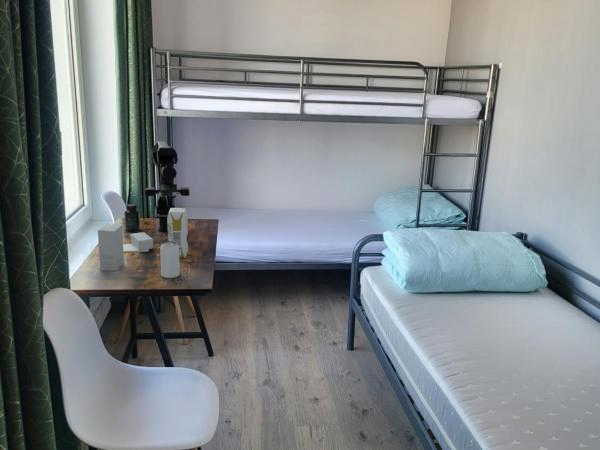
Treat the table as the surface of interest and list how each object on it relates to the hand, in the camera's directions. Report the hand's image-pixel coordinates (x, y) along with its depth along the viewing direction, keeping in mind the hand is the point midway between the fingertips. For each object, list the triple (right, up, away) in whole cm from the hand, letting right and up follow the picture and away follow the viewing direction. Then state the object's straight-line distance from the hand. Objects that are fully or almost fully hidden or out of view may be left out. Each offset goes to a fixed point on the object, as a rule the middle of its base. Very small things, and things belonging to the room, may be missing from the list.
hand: (168, 210), depth 224 cm
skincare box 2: (-12, -12, -6) cm, 18 cm away
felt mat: (-11, -16, -13) cm, 23 cm away
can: (+12, -25, -42) cm, 50 cm away
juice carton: (+9, -19, -20) cm, 29 cm away
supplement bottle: (-21, -9, +16) cm, 28 cm away
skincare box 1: (-11, -22, -36) cm, 44 cm away
